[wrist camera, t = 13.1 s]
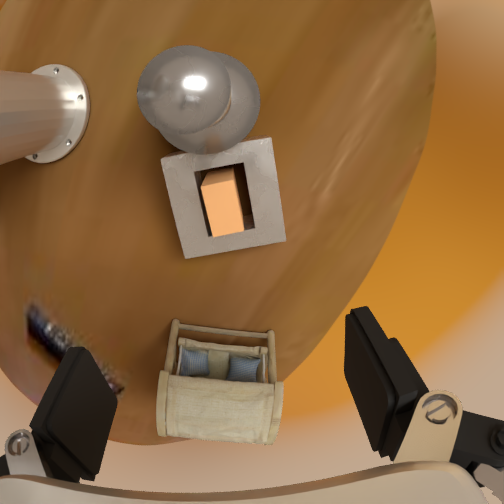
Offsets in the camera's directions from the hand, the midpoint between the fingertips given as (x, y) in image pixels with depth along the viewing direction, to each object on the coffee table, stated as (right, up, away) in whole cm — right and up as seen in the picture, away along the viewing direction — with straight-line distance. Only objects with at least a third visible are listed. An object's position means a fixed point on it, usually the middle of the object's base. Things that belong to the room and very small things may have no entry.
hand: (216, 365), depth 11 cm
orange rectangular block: (-2, +11, +26) cm, 28 cm away
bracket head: (-3, +15, +24) cm, 29 cm away
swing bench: (-4, -10, +36) cm, 37 cm away
